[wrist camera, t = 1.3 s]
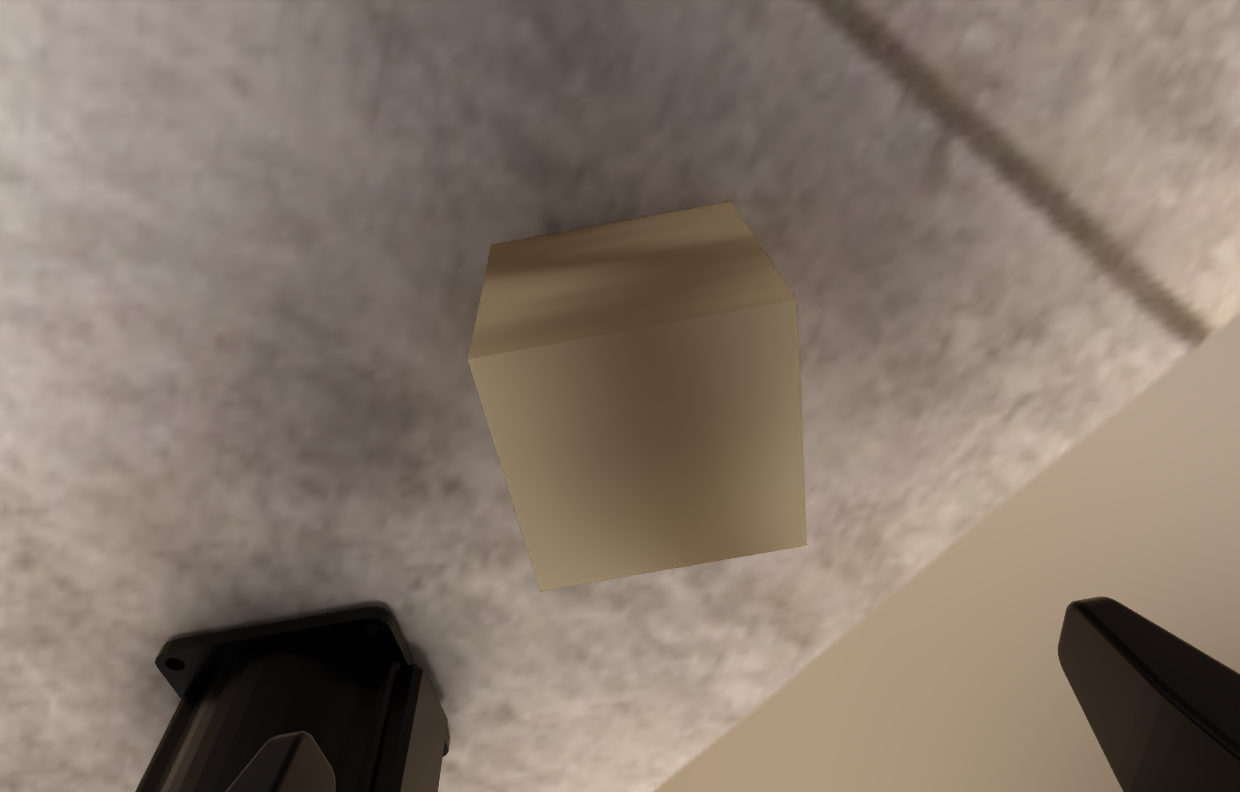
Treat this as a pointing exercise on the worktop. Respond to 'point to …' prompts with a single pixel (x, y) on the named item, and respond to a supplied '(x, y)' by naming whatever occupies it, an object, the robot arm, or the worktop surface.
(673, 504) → the maple cube
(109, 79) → the worktop surface
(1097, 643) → the robot arm
